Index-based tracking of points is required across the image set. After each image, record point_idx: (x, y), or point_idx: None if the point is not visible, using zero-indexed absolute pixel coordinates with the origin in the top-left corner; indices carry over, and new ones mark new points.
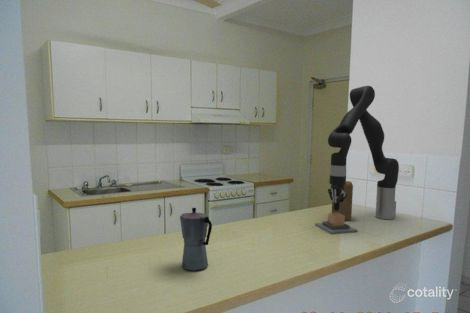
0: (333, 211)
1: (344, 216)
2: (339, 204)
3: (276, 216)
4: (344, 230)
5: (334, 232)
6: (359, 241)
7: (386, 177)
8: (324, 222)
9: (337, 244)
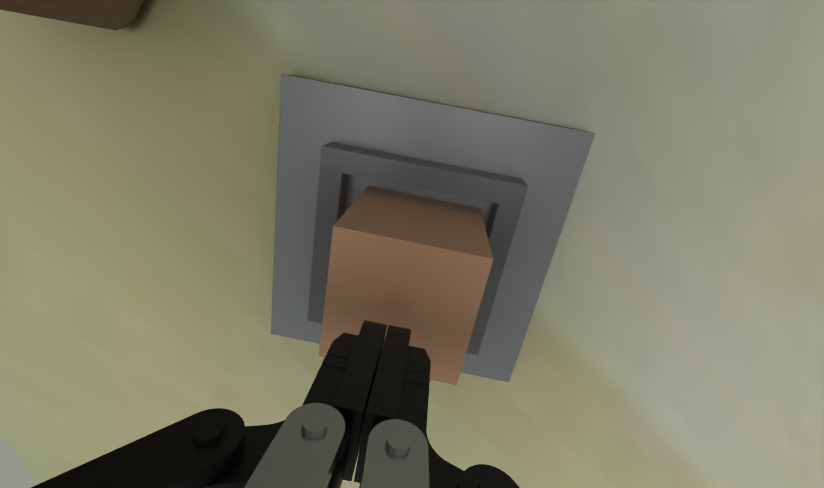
0: (46, 7)
1: (492, 260)
2: (426, 418)
3: (13, 412)
4: (534, 261)
5: (516, 354)
6: (748, 311)
7: None
8: None
9: (674, 466)
